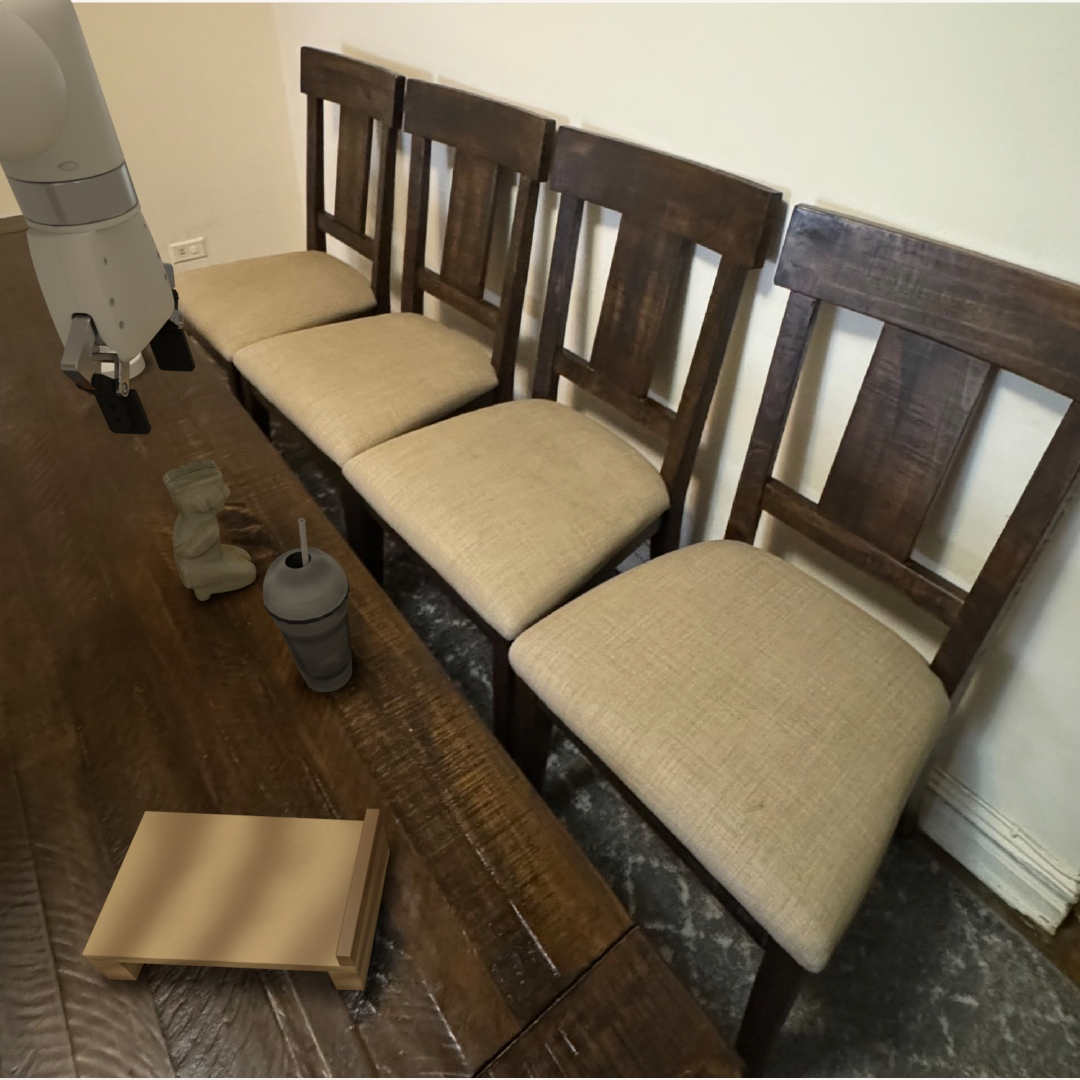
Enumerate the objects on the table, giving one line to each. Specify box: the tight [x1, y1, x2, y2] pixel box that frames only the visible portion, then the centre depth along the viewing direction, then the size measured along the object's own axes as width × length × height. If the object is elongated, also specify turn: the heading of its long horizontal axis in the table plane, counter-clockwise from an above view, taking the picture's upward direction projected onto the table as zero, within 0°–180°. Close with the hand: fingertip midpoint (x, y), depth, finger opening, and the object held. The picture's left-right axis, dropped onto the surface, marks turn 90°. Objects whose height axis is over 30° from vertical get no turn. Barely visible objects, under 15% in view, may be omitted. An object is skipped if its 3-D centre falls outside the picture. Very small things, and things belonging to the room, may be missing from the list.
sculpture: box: [162, 458, 257, 602], centre depth 75 cm, size 6×7×15 cm
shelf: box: [81, 808, 390, 992], centre depth 53 cm, size 18×10×7 cm, turn 88°
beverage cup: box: [262, 517, 353, 693], centre depth 65 cm, size 7×7×20 cm
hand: (156, 399), depth 64 cm, fingers open, 9 cm apart
